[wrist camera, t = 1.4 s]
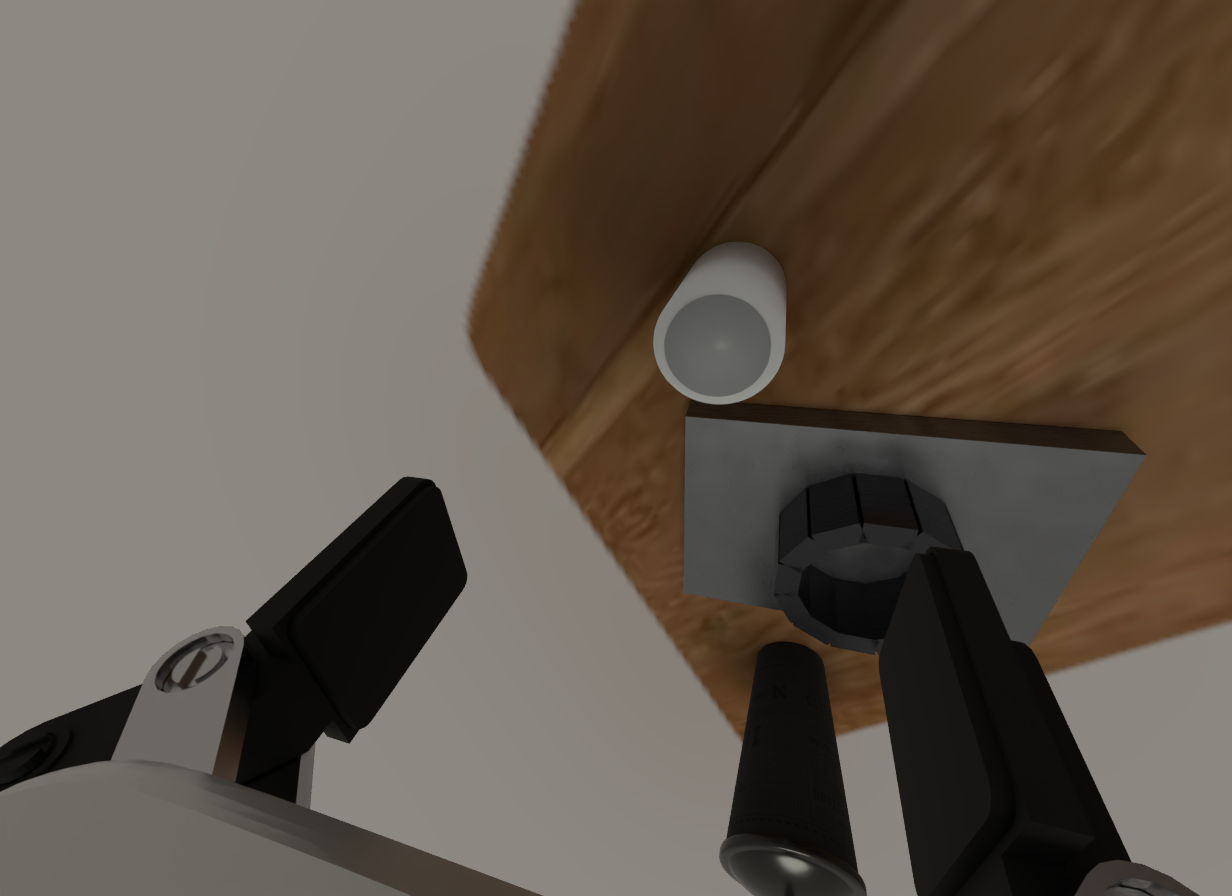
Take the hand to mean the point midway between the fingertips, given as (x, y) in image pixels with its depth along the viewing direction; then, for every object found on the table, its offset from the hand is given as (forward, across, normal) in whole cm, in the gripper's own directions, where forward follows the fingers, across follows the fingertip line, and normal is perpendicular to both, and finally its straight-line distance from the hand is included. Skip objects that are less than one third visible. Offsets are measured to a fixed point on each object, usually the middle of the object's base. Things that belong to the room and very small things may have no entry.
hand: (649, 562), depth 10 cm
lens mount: (+18, -8, +13) cm, 24 cm away
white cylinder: (+18, 0, 0) cm, 19 cm away
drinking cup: (+19, -6, +28) cm, 34 cm away
